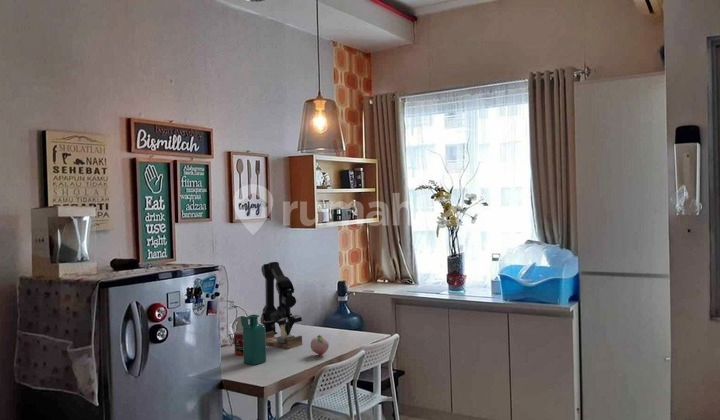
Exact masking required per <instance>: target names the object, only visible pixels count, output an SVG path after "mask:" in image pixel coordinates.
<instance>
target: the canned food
mask: <svg viewBox="0 0 720 420" xmlns="http://www.w3.org/2000/svg"><path fill="white" fill-rule="evenodd" d="M233 333H234V334H233V342H234V354H235V355H236V356H239V357H240V356H243V357H244V352H243V329H237V330H235V331H234V332H233Z"/></svg>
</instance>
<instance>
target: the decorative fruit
mask: <svg viewBox="0 0 720 420" xmlns="http://www.w3.org/2000/svg"><path fill="white" fill-rule="evenodd" d="M329 347H330V346H329V341H328V340H327V339H326V338H325V337H323V336H322V335H321V334H319V335H316V336H315V337H314V338H313V339H312V340H311V342H310V349H311V351H312V352H313V353H315V354H316V355H319V357H320V356H323V355H324V354H325V353H326V352H327V351H328V350H329Z"/></svg>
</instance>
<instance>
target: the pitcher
mask: <svg viewBox="0 0 720 420" xmlns="http://www.w3.org/2000/svg"><path fill="white" fill-rule="evenodd" d="M259 317H260V315H259V314H249V315H247V316H245V315H242V316H240V323H241V326H242V330H243V352H244V355H243V363H244V364H246V365H251V366H256V365H260V364H264V363H266V362H267V345H266V336H265V326H263V324H261V323H259V321H258V320H259V319H258V318H259Z"/></svg>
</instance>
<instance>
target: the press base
mask: <svg viewBox="0 0 720 420" xmlns="http://www.w3.org/2000/svg"><path fill="white" fill-rule="evenodd" d="M265 336H266V346H270V347H275V348H282V349H286V350H289V349H292V348H296V347H299V346H302V345H303V335H298V336H297V335H296V336H295V337H293V338H290V339H286V343H280V342H277V337H278V336H277V337H276V336H275V334H274V331H271V332H267V333H265Z"/></svg>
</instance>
